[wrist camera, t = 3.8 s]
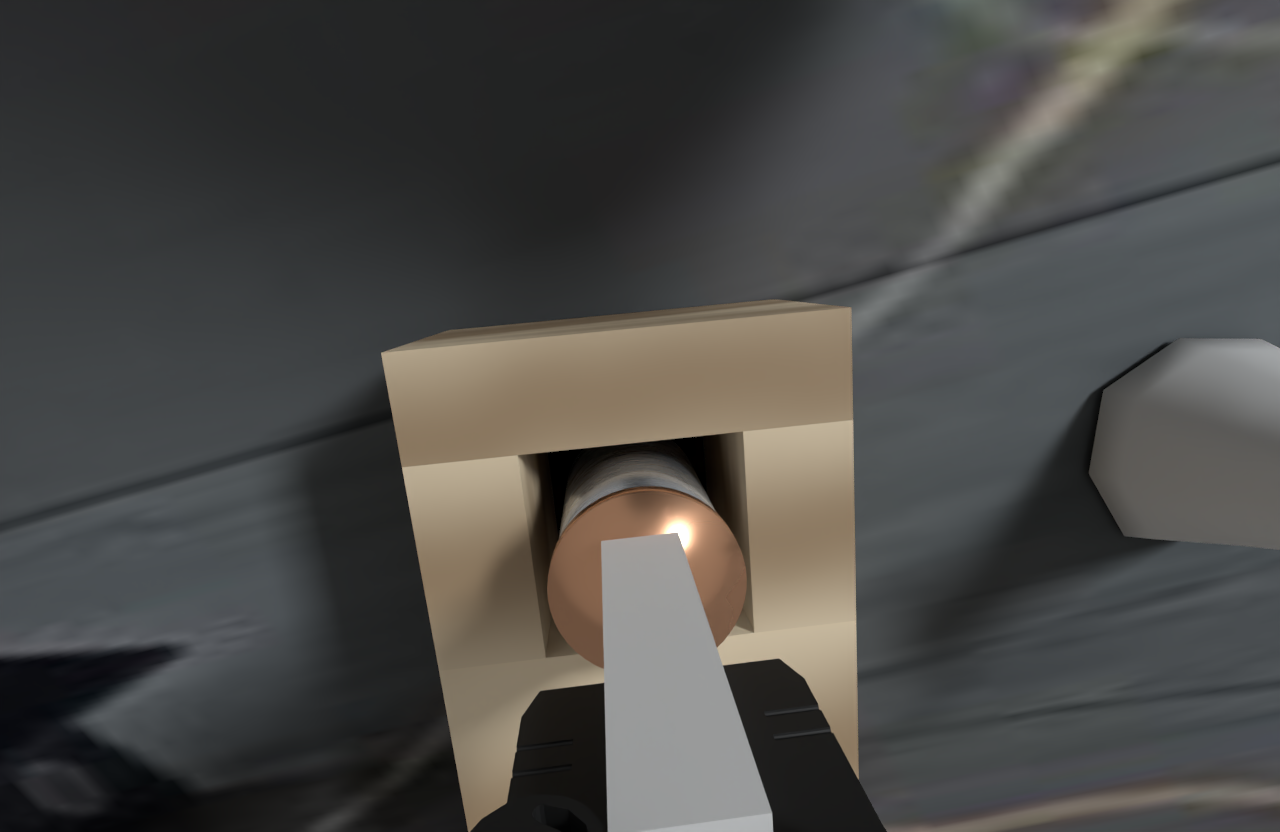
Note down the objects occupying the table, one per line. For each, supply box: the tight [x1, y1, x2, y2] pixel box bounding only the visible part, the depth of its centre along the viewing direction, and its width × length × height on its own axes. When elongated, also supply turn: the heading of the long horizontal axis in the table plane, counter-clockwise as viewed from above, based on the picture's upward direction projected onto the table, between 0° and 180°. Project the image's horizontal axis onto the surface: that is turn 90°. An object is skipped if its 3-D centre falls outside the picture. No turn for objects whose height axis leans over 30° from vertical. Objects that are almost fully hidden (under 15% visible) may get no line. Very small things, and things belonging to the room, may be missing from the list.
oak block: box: [381, 299, 859, 832], centre depth 18 cm, size 22×10×6 cm, turn 5°
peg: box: [547, 439, 747, 669], centre depth 15 cm, size 4×4×6 cm
